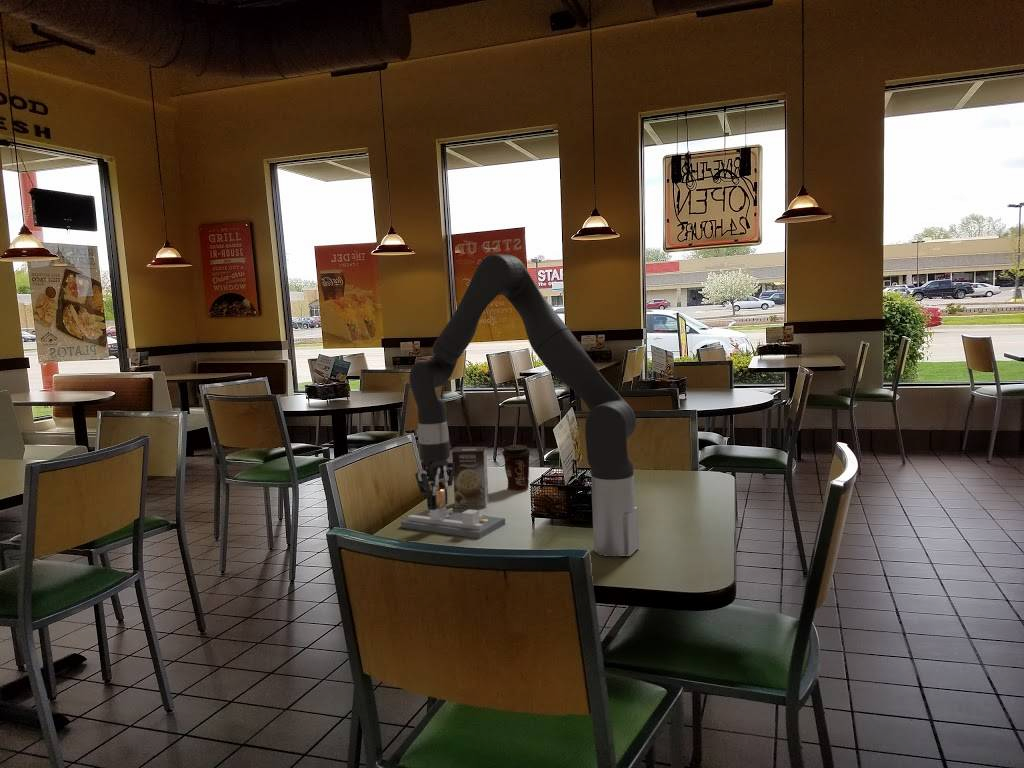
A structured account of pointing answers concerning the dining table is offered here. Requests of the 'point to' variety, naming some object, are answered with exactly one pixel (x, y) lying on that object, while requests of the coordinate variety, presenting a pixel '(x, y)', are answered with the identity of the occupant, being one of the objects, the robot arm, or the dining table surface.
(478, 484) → the coffee box
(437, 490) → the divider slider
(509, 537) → the dining table surface
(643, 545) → the dining table surface
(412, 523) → the plate
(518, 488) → the coffee cup
